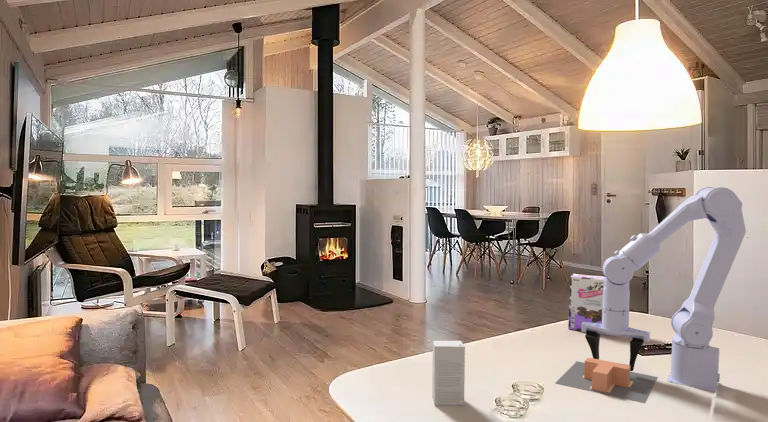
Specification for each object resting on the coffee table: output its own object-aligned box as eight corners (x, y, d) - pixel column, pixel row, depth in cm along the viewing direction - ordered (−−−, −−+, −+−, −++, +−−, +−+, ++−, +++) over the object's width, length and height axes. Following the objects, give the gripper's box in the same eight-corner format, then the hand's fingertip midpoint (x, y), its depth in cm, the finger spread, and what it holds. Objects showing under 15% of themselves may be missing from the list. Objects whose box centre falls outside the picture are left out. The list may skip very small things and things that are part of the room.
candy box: (567, 329, 165) (569, 275, 164) (570, 325, 170) (572, 272, 169) (616, 336, 158) (619, 280, 157) (618, 331, 164) (620, 277, 163)
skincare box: (460, 397, 112) (461, 340, 111) (464, 406, 107) (465, 346, 107) (431, 397, 111) (432, 340, 111) (433, 406, 107) (434, 346, 106)
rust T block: (629, 383, 120) (630, 365, 119) (621, 396, 112) (622, 377, 112) (587, 374, 125) (588, 357, 124) (577, 386, 117) (577, 368, 117)
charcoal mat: (657, 379, 124) (657, 376, 124) (644, 405, 109) (644, 403, 109) (576, 363, 134) (576, 361, 134) (554, 385, 119) (554, 383, 119)
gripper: (652, 309, 125) (650, 367, 126) (587, 301, 133) (585, 356, 134) (648, 316, 119) (645, 376, 120) (580, 306, 127) (578, 363, 128)
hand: (613, 366), depth 126 cm, fingers open, 7 cm apart
